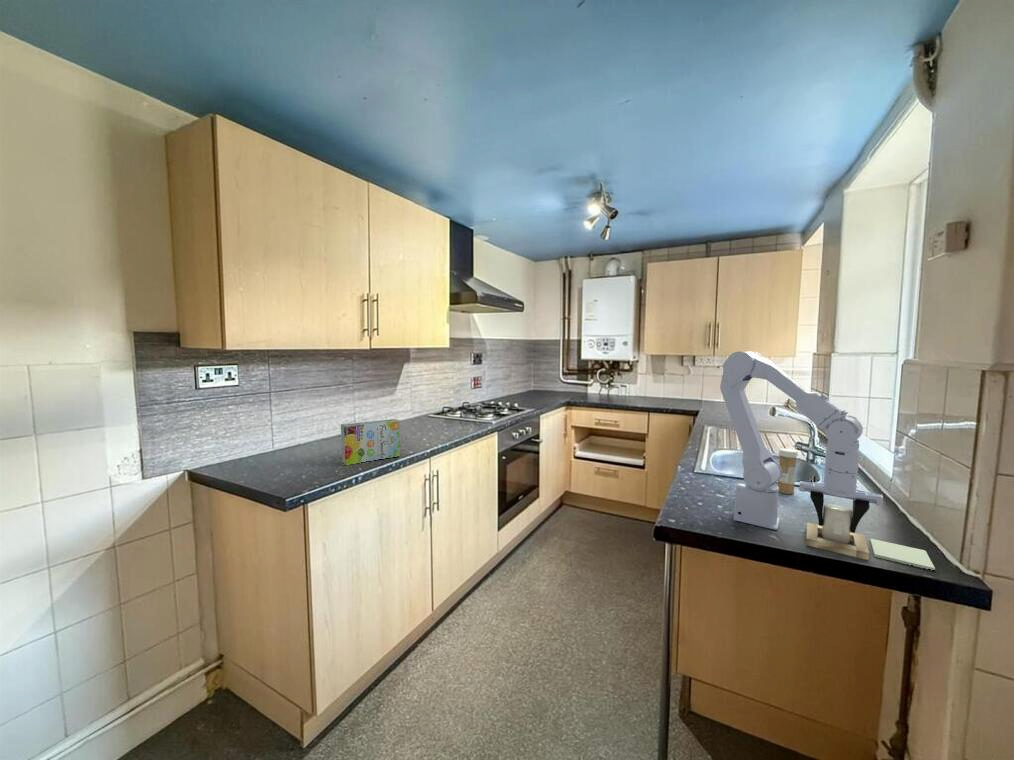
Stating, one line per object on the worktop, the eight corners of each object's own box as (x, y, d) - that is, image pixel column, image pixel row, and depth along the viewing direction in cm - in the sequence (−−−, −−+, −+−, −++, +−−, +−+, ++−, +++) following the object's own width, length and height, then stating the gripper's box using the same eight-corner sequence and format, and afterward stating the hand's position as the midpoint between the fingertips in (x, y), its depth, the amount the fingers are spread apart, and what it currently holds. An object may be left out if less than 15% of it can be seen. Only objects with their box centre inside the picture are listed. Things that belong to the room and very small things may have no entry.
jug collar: (806, 545, 91) (806, 538, 91) (806, 528, 100) (807, 522, 100) (868, 560, 85) (869, 552, 85) (863, 541, 93) (864, 534, 93)
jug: (821, 531, 96) (823, 502, 95) (848, 537, 93) (851, 507, 92) (822, 542, 90) (824, 511, 90) (851, 549, 87) (853, 517, 87)
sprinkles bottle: (773, 489, 127) (775, 447, 126) (786, 489, 128) (789, 447, 127) (784, 495, 123) (787, 451, 122) (798, 494, 123) (801, 451, 122)
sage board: (874, 556, 86) (874, 554, 86) (870, 540, 94) (870, 538, 94) (934, 571, 81) (935, 568, 81) (925, 553, 88) (925, 550, 88)
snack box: (395, 454, 165) (395, 418, 164) (400, 457, 161) (400, 420, 159) (341, 462, 153) (340, 423, 152) (345, 466, 148) (344, 426, 147)
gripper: (800, 467, 92) (796, 525, 93) (887, 481, 83) (881, 544, 85) (801, 461, 98) (797, 515, 99) (882, 472, 89) (877, 532, 90)
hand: (836, 527), depth 92 cm, fingers closed on jug, 5 cm apart
